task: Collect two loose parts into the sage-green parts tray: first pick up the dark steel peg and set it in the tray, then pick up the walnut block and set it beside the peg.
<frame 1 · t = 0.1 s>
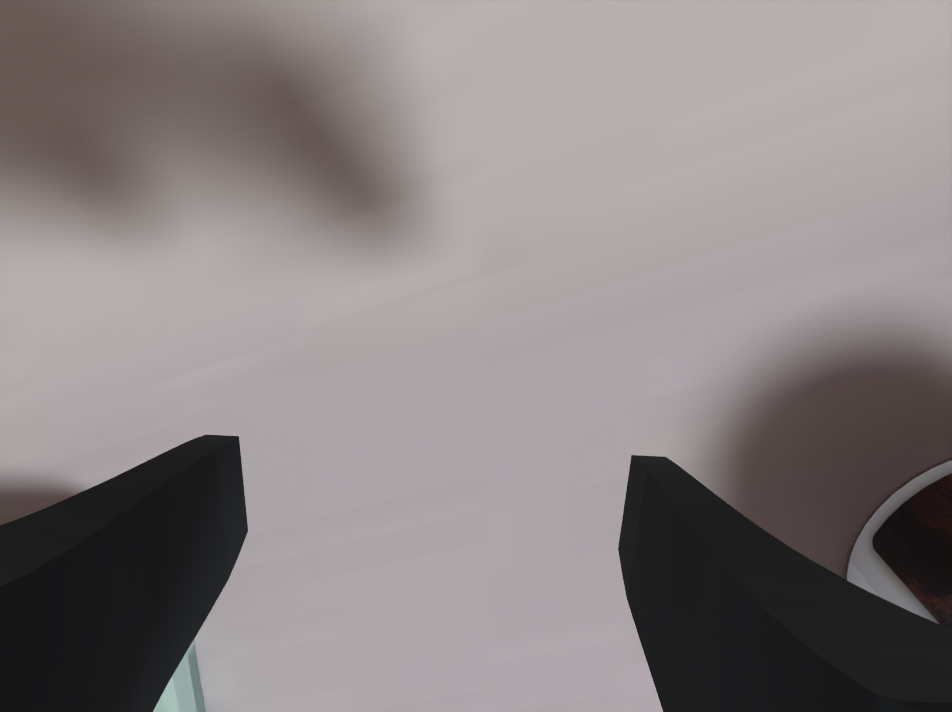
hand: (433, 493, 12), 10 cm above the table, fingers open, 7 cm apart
mug: (943, 560, 24), on the table
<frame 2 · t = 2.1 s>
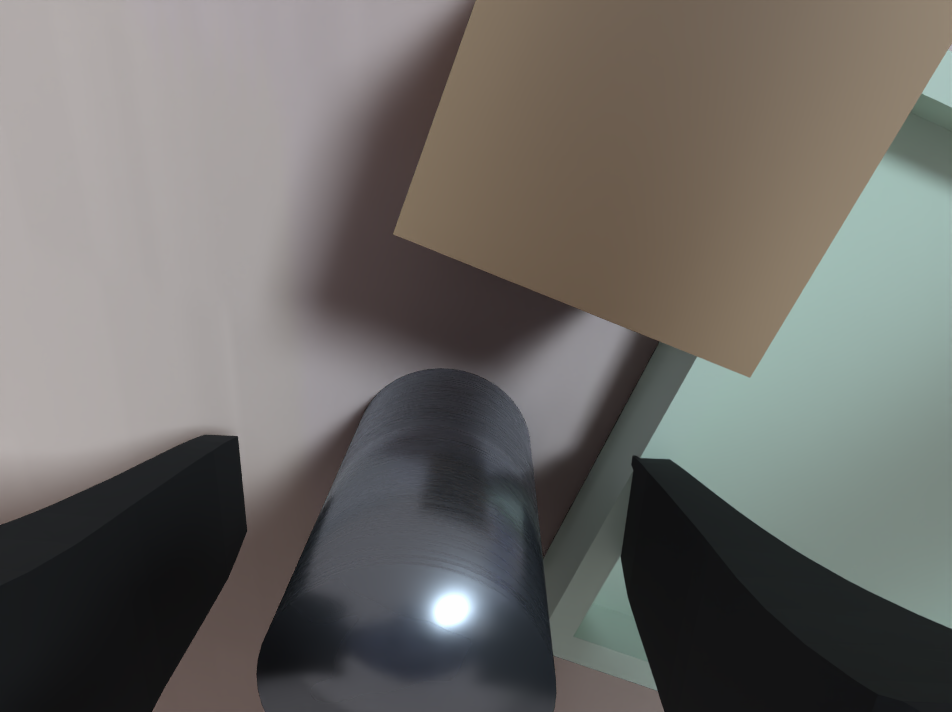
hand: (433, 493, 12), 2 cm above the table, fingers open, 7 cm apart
tray: (874, 444, 13), on the table
peg: (443, 449, 13), on the table
block: (588, 114, 11), on the table
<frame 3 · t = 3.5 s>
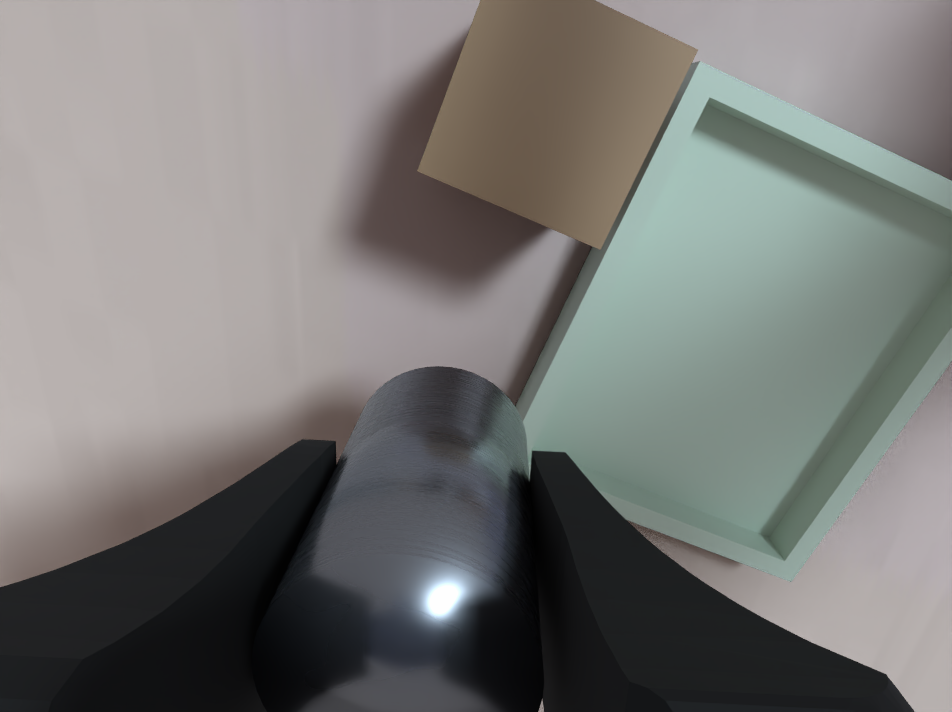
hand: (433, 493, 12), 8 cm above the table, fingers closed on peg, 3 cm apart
tray: (729, 337, 19), on the table
peg: (441, 446, 14), point 7 cm above the table, touching gripper
block: (534, 114, 17), on the table
when the fingers open (3 cm above the table, at t = 5.2 s): peg stays where it is, resting on tray.
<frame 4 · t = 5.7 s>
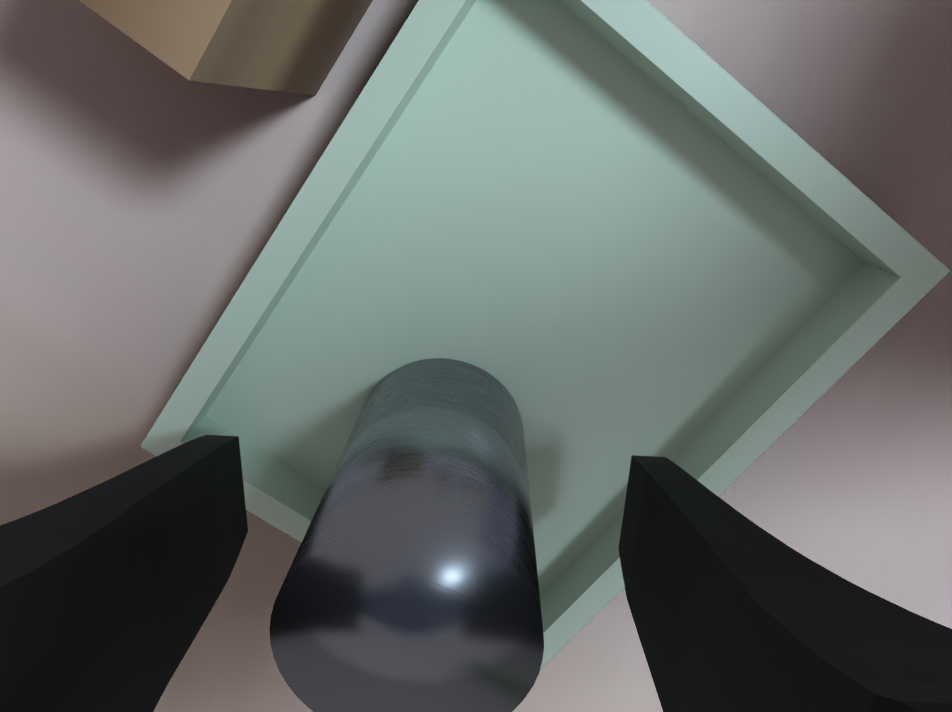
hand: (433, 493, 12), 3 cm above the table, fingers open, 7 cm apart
tray: (515, 334, 14), on the table
peg: (441, 435, 14), point 1 cm above the table, touching tray
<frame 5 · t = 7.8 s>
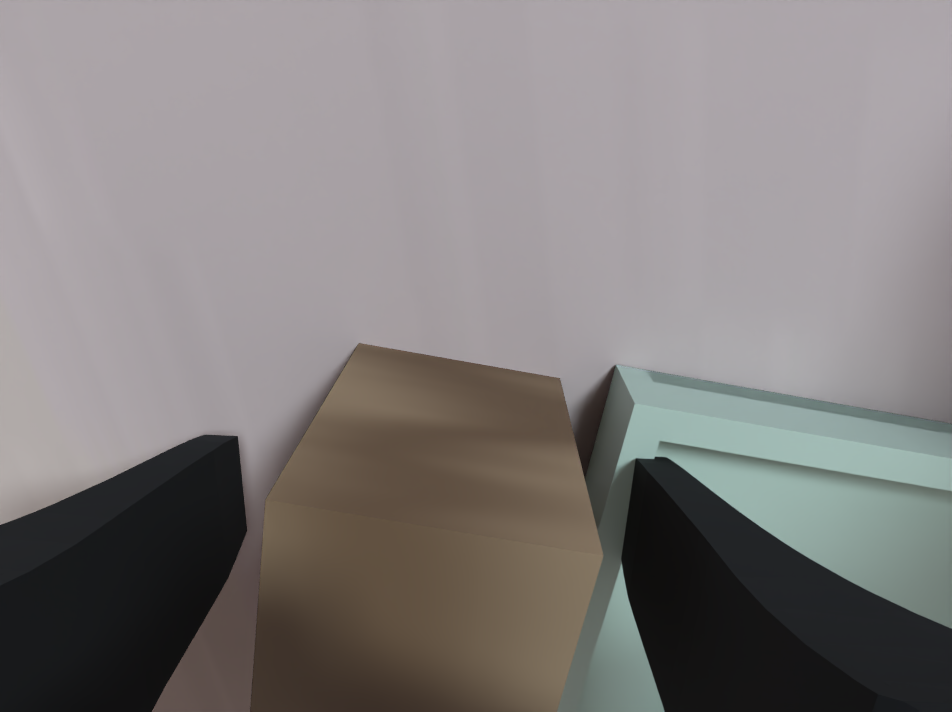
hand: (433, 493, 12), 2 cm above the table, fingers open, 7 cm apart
tray: (763, 641, 15), on the table
block: (444, 448, 13), on the table
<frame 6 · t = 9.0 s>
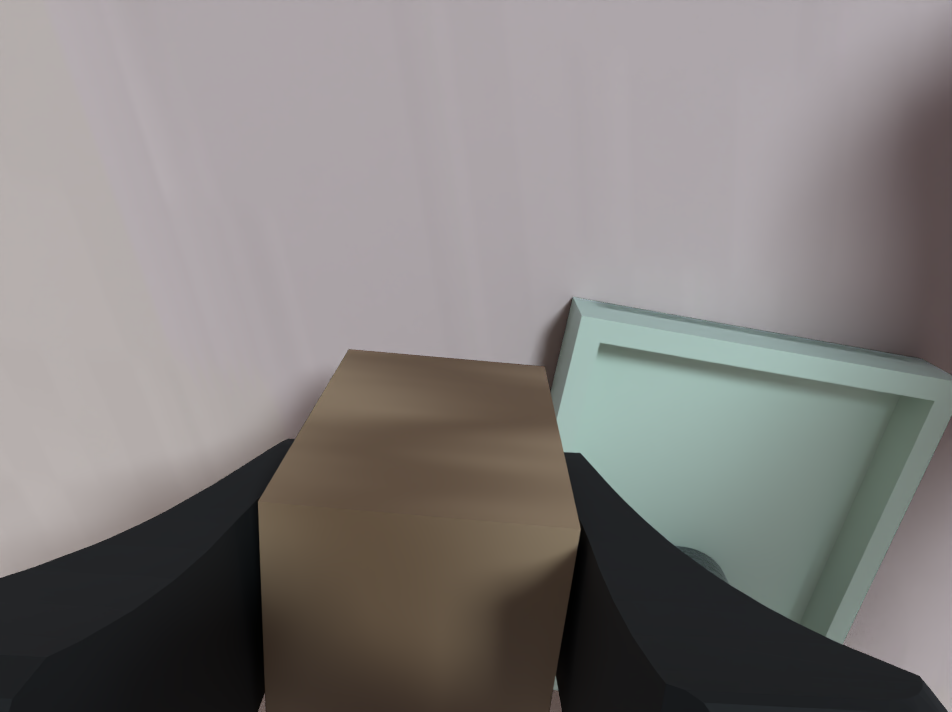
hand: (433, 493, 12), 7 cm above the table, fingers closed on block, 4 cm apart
tray: (687, 510, 20), on the table
peg: (668, 593, 20), point 1 cm above the table, touching tray
block: (440, 444, 14), point 5 cm above the table, touching gripper
when the fingers open (3 cm above the table, at t = 11.0 s): block stays where it is, resting on tray.
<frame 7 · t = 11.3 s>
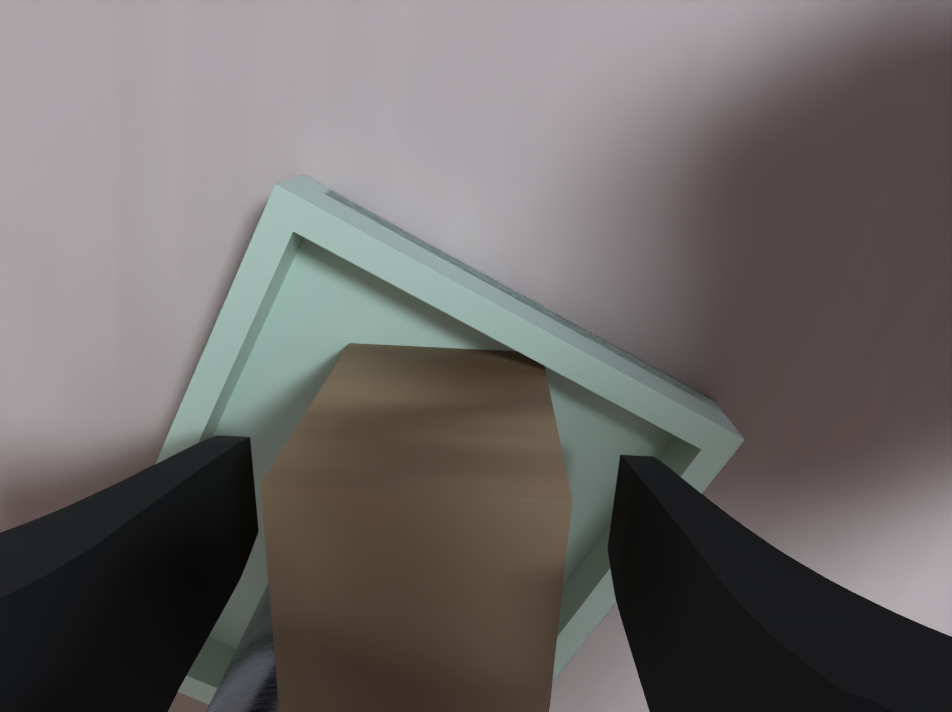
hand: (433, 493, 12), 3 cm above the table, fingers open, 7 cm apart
tray: (394, 506, 15), on the table
peg: (341, 602, 16), point 1 cm above the table, touching tray
block: (442, 433, 14), point 1 cm above the table, touching tray
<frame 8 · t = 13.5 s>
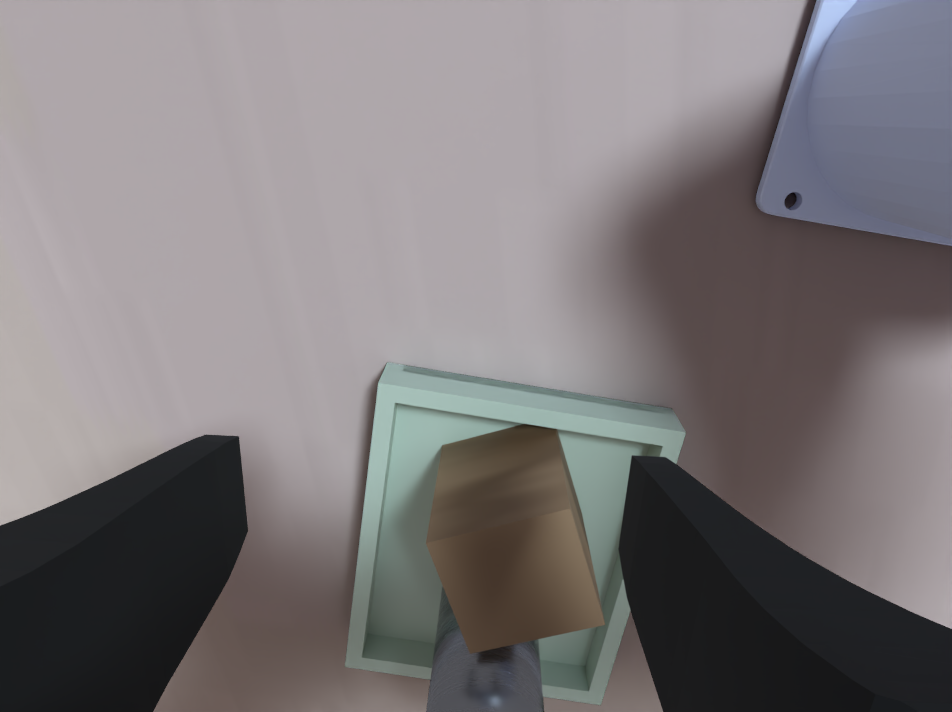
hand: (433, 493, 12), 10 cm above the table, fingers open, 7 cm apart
tray: (500, 529, 24), on the table
peg: (488, 596, 25), point 1 cm above the table, touching tray
block: (513, 479, 23), point 1 cm above the table, touching tray
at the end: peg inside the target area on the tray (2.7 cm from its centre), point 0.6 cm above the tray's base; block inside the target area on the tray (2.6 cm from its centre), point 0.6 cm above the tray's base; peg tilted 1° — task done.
